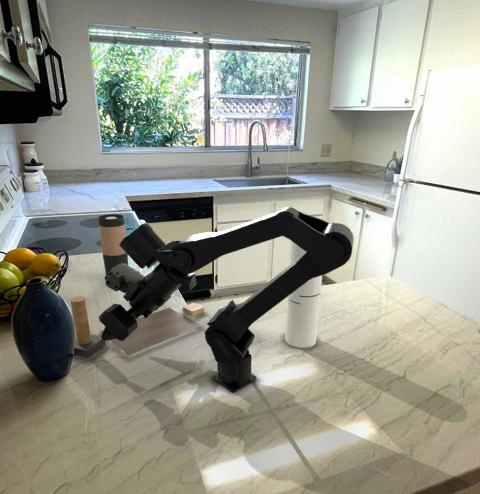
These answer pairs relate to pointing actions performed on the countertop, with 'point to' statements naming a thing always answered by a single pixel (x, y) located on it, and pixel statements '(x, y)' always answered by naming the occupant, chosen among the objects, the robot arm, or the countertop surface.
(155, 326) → the cutting board
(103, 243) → the travel mug
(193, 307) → the tan wooden block
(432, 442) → the countertop surface
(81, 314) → the stamp
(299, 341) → the cylindrical container
